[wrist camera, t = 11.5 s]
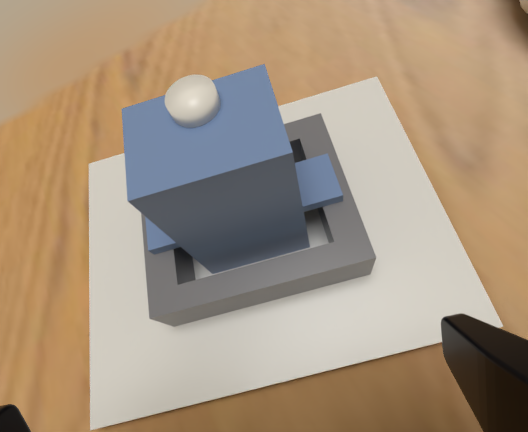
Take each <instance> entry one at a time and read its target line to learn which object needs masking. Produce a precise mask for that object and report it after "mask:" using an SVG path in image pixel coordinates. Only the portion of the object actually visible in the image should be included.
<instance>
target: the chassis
mask: <svg viewBox="0 0 528 432" xmlns="http://www.w3.org/2000/svg"><path fill="white" fill-rule="evenodd" d="M278 108H279V111H280V114H281V117H282V120H283V123H284V127H285V130H286V133H287V136H288V139H289V142H290V145H291V148H292V152H293V156H294V162H295V163H297V162H300V161H303V160H307V159H310V158H314V157H317V156H320V155H324V154H327V153H328V156H329V159H330V161H331V164H332V167H333V169H334V172H335V175H336V177H337V180H338V183H339V185H340V188H341V191H342V193H343V201H341V202H338V203H334V204H330V205H327V206H323V207H320V208H316V209H313V210H309V211H306V212H304V216H305V222H306V227H307V233H308V238H309V244H310V247H309V248H305V249H302V250H298V251H294V252H291V253H287V254H284V255H280V256H276V257H273V258H269V259H266V260H262V261H258V262H255V263H251V264H247V265H244V266H240V267H237V268H233V269H229V270H226V271H222V272H219V273H215V274H212V273H211V272H210V271H208V270H207V269H206V268H205V267H204V266H203V265H201V264H200V263H199V262H198V261H197V260H196V259H194V258H193V257H192V256H191V255H190V254H189V253H187V252H186V251H185V250H184V249H183V248H182V247H179V248H175V249H172V250H168V251H165V252H161V253H158V254H152V253H151V252H149V251H148V243H147V231H146V220H145V216H144V215H143V214H142V213H141V212H140V211H138V210H137V209H136V208H135V207H134V206H133V205H131V204H130V203H129V202H128V201H127V186H126V169H125V153H123V154H120V155H116V156H113V157H110V158H106V159H103V160H100V161H96V162H93V163H90V164H89V291H90V430H94V429H99V428H103V427H107V426H111V425H115V424H119V423H123V422H127V421H131V420H135V419H139V418H143V417H147V416H151V415H155V414H159V413H163V412H167V411H171V410H175V409H179V408H183V407H187V406H191V405H195V404H199V403H203V402H207V401H211V400H215V399H218V398H222V397H226V396H230V395H234V394H238V393H242V392H246V391H250V390H254V389H258V388H262V387H266V386H270V385H274V384H278V383H282V382H286V381H290V380H294V379H298V378H302V377H306V376H310V375H314V374H318V373H322V372H326V371H330V370H334V369H338V368H342V367H346V366H350V365H354V364H358V363H362V362H366V361H370V360H374V359H378V358H382V357H386V356H390V355H394V354H397V353H401V352H405V351H409V350H413V349H417V348H421V347H425V346H429V345H433V344H437V343H441V342H442V334H441V319H442V318H443V317H445V316H450V315H454V314H460V313H463V314H466V315H469V316H471V317H474V318H476V319H478V320H481V321H483V322H486V323H488V324H490V325H493V326H495V327H497V328H500V327H503V325H502V323H501V321H500V319H499V317H498V315H497V313H496V311H495V309H494V307H493V305H492V303H491V301H490V299H489V297H488V295H487V293H486V291H485V289H484V287H483V285H482V283H481V281H480V279H479V277H478V275H477V273H476V271H475V269H474V267H473V265H472V263H471V261H470V259H469V257H468V255H467V253H466V252H465V250H464V248H463V246H462V244H461V242H460V240H459V238H458V236H457V234H456V232H455V230H454V228H453V226H452V224H451V222H450V220H449V218H448V216H447V214H446V212H445V210H444V208H443V206H442V204H441V202H440V200H439V198H438V196H437V194H436V192H435V190H434V188H433V186H432V184H431V182H430V180H429V178H428V176H427V174H426V173H425V171H424V169H423V167H422V165H421V163H420V161H419V159H418V157H417V155H416V153H415V151H414V149H413V147H412V145H411V143H410V141H409V139H408V137H407V135H406V133H405V131H404V129H403V127H402V125H401V123H400V121H399V119H398V117H397V115H396V113H395V111H394V109H393V107H392V105H391V103H390V101H389V99H388V97H387V95H386V94H385V92H384V90H383V88H382V86H381V84H380V82H379V80H378V78H377V77H373V78H370V79H367V80H364V81H360V82H357V83H354V84H350V85H347V86H344V87H340V88H337V89H334V90H331V91H327V92H324V93H321V94H317V95H314V96H311V97H307V98H304V99H301V100H298V101H294V102H291V103H288V104H284V105H281V106H278Z"/></svg>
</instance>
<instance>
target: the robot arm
mask: <svg viewBox="0 0 528 432" xmlns="http://www.w3.org/2000/svg"><path fill="white" fill-rule="evenodd" d="M441 334H442V346H443V354H444V357H445V360H446V362H447V364H448V366H449V368H450V370H451V372H452V374H453V376H454V377H455V379H456V381H457V383H458V385H459V387H460V389H461V390H462V392H463V394H464V396H465V398H466V400H467V402H468V403H469V405H470V407H471V409H472V411H473V413H474V415H475V417H476V418H477V420H478V422H479V424H480V426H481V428H482V429H483V431H484V432H528V340H526V339H524V338H521V337H519V336H517V335H514V334H512V333H509V332H507V331H505V330H502V329H500V328H497V327H495V326H493V325H490V324H488V323H486V322H483V321H481V320H478V319H476V318H474V317H471V316H469V315H466V314H463V313H460V314H454V315H450V316H445V317H443V318H442V319H441ZM0 432H31V431H30V429H29V427H28V425H27V423H26V422H25V420H24V418H23V416H22V415H21V413H20V411H19V409H18V408H17V407H16V406H15V405H12V404H8V405H3V406H0Z"/></svg>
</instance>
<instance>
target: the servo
mask: <svg viewBox="0 0 528 432" xmlns="http://www.w3.org/2000/svg"><path fill="white" fill-rule="evenodd" d="M122 121H123V137H124V153H125V169H126V186H127V201H128V202H129V203H130V204H131V205H133V206H134V207H135V208H136V209H137V210H138V211H140V212H141V213H142V214H143V215H144V216H145V220H146V231H147V243H148V251H149V252H151V253H152V254H158V253H161V252H165V251H168V250H172V249H175V248H179V247H182V248H183V249H184V250H185V251H186V252H187V253H189V254H190V255H191V256H192V257H193V258H194V259H196V260H197V261H198V262H199V263H200V264H201V265H203V266H204V267H205V268H206V269H207V270H208V271H210V272H211V273H212V274H215V273H219V272H222V271H226V270H229V269H233V268H237V267H240V266H244V265H247V264H251V263H255V262H258V261H262V260H266V259H269V258H273V257H276V256H280V255H284V254H287V253H291V252H294V251H298V250H302V249H305V248H309V247H310V244H309V238H308V233H307V227H306V222H305V216H304V212H306V211H309V210H313V209H316V208H320V207H323V206H327V205H330V204H334V203H338V202H341V201H343V193H342V191H341V188H340V185H339V183H338V180H337V177H336V175H335V172H334V169H333V167H332V164H331V161H330V159H329V156H328V153H327V154H324V155H320V156H317V157H314V158H310V159H307V160H303V161H300V162H297V163H295V162H294V156H293V152H292V148H291V145H290V142H289V139H288V136H287V133H286V130H285V127H284V123H283V120H282V117H281V114H280V111H279V108H278V105H277V102H276V98H275V95H274V92H273V89H272V86H271V83H270V80H269V77H268V73H267V70H266V67H265V64H263V65H260V66H257V67H254V68H250V69H247V70H244V71H241V72H238V73H234V74H231V75H228V76H225V77H222V78H218V79H215V80H211V79H209V78H208V77H206V76H203V75H189V76H186V77H183V78H181V79H179V80H177V81H176V82H175V83H174V84H172V85H171V87H170V88H169V89H168V91H167V93H166V95H164V96H161V97H158V98H155V99H151V100H148V101H145V102H142V103H139V104H135V105H132V106H129V107H126V108H123V109H122Z"/></svg>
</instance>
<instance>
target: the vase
mask: <svg viewBox="0 0 528 432" xmlns="http://www.w3.org/2000/svg"><path fill="white" fill-rule="evenodd" d="M519 1H520V4H521V7H522V8H523V10H524V11H525V12H526V13H527V14H528V0H519Z"/></svg>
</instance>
